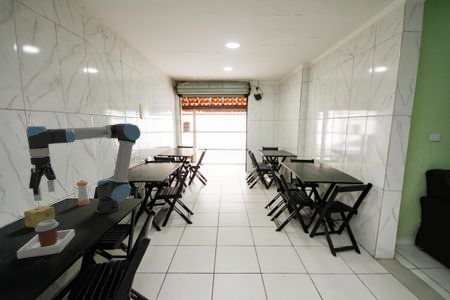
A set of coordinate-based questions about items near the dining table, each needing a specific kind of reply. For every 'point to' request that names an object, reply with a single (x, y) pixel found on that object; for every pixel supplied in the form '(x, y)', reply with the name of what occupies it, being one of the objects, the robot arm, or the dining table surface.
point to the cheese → (38, 215)
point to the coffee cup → (47, 232)
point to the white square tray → (36, 250)
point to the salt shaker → (82, 193)
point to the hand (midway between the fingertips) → (45, 195)
